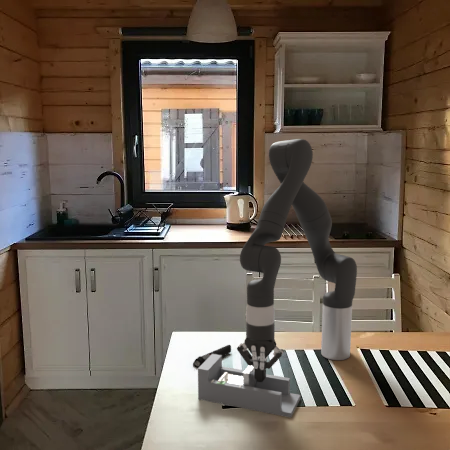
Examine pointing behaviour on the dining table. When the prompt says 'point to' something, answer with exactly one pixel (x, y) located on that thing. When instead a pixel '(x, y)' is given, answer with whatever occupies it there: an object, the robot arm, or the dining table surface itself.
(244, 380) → the notched taupe block
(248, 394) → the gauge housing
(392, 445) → the dining table surface
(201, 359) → the electric trimmer
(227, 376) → the drag pointer
